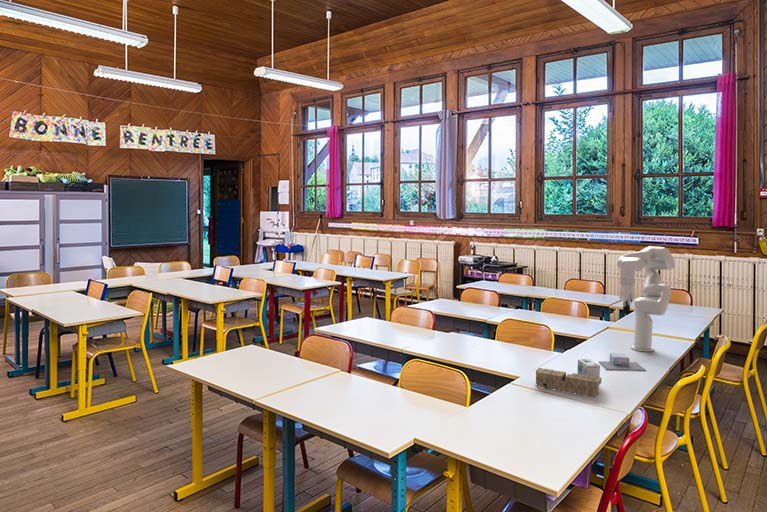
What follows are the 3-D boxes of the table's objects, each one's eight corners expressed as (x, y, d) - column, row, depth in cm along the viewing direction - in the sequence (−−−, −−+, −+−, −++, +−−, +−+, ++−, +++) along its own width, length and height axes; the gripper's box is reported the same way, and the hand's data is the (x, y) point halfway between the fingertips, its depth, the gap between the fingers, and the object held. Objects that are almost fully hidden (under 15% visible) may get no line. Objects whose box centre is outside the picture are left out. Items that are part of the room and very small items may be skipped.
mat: (598, 362, 298) (598, 361, 297) (636, 363, 296) (636, 362, 296) (606, 369, 284) (606, 368, 284) (645, 371, 282) (645, 369, 282)
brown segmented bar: (534, 388, 258) (597, 398, 242) (534, 371, 257) (597, 380, 241) (539, 384, 264) (601, 393, 248) (539, 367, 264) (601, 375, 248)
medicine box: (624, 353, 297) (629, 357, 288) (623, 361, 297) (629, 365, 289) (609, 353, 298) (614, 357, 289) (609, 361, 298) (614, 365, 290)
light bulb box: (576, 380, 267) (577, 359, 266) (589, 379, 268) (590, 358, 267) (586, 387, 257) (587, 365, 256) (599, 386, 257) (600, 365, 256)
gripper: (616, 279, 309) (615, 310, 311) (624, 283, 295) (623, 316, 297) (629, 279, 308) (629, 310, 310) (638, 283, 294) (637, 316, 296)
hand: (626, 313), depth 304 cm, fingers closed
